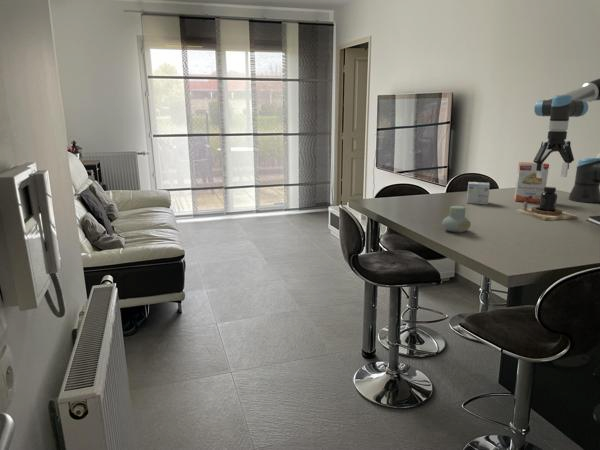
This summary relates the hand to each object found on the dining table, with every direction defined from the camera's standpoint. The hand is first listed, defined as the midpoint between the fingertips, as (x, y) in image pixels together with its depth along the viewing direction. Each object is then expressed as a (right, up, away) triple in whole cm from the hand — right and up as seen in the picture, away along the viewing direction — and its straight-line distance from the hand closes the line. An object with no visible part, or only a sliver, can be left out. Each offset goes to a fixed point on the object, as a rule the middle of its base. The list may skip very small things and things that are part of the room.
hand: (551, 177), depth 212 cm
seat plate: (0, -17, +4) cm, 18 cm away
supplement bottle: (0, -16, +4) cm, 17 cm away
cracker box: (+8, -9, +36) cm, 38 cm away
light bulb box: (-22, -11, +32) cm, 40 cm away
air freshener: (-53, -25, -24) cm, 63 cm away
